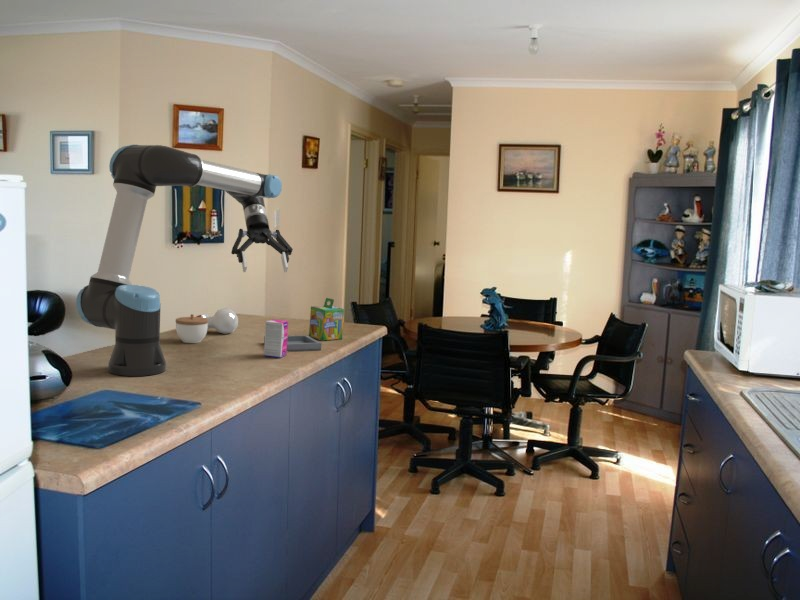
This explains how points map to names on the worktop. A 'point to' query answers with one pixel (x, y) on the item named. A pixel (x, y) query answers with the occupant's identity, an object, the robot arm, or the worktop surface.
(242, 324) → the worktop surface
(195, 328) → the lidded jar
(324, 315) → the chalk box
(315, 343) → the tray
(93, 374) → the worktop surface
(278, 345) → the supplement box
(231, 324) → the potion bottle
